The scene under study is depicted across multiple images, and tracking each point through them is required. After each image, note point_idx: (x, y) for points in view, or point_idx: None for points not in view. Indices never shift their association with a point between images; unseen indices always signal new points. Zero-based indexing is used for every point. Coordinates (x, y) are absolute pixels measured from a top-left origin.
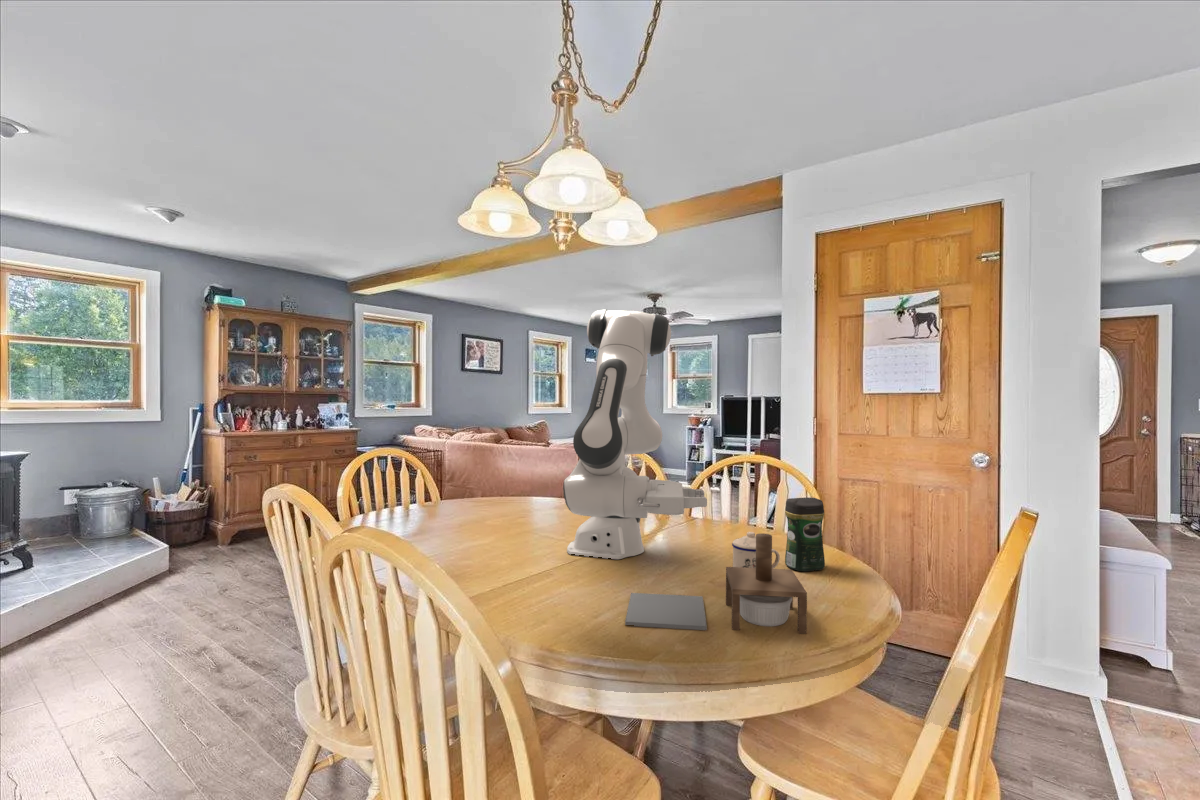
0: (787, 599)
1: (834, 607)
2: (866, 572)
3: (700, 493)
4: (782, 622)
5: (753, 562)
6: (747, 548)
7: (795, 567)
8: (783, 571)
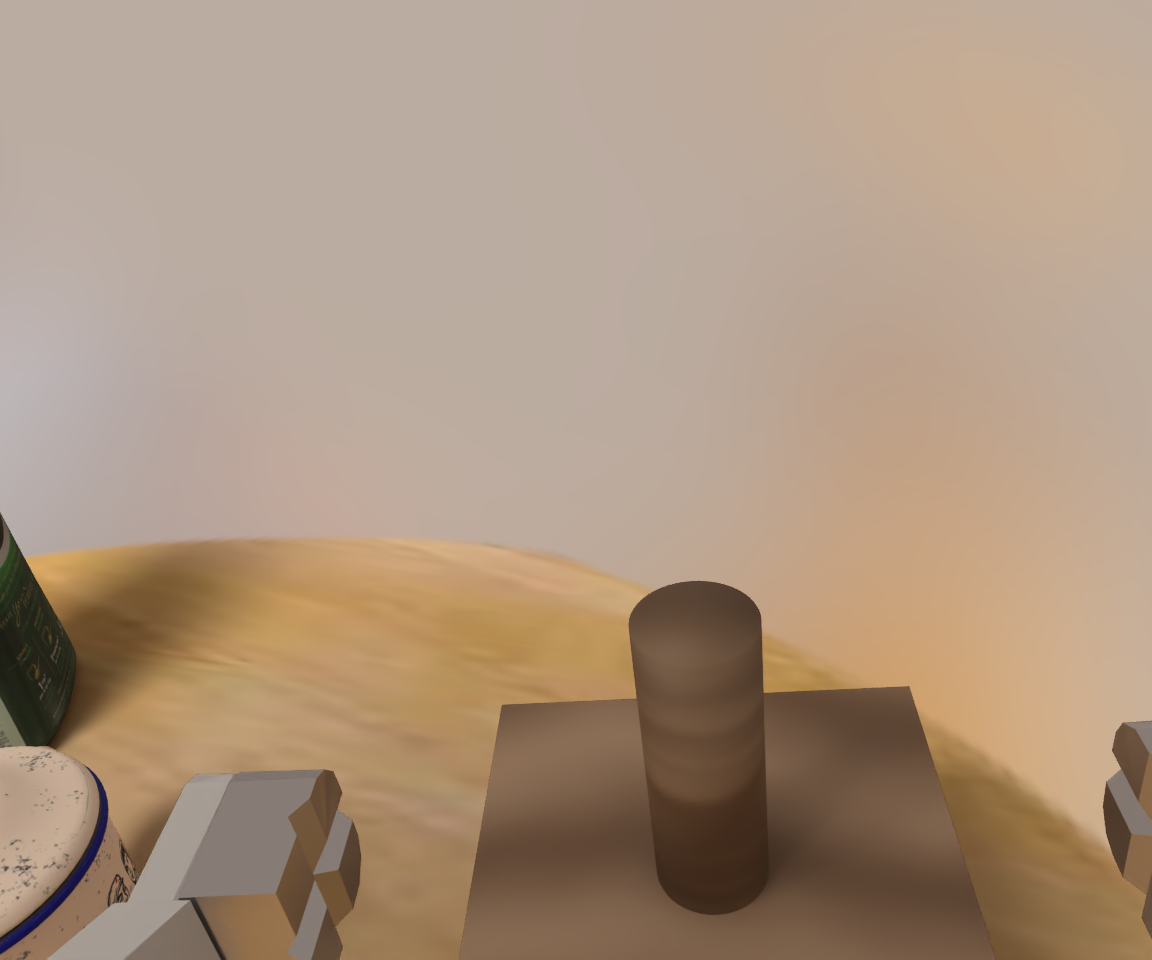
0: None
1: (539, 694)
2: (155, 546)
3: (314, 852)
4: None
5: None
6: (55, 887)
7: None
8: (541, 745)
